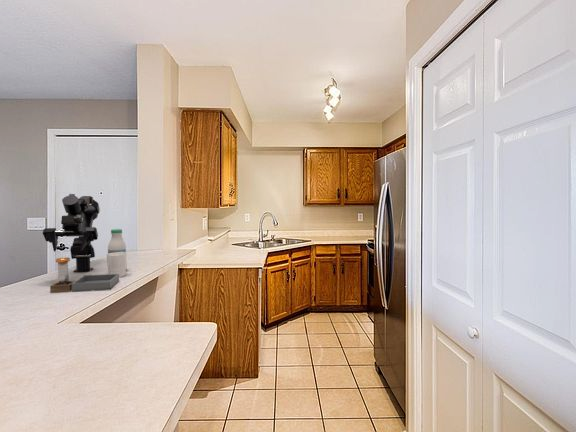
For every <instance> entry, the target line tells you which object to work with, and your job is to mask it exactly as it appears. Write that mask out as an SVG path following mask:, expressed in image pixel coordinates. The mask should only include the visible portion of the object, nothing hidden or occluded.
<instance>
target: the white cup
mask: <svg viewBox="0 0 576 432" xmlns="http://www.w3.org/2000/svg"><path fill="white" fill-rule="evenodd" d="M106 265H107V272H108V274H119V278H122V277H125V276H126V274H127V273H126V271H127V270H126V265H127V252H126V253H124V252H116V253H109V254H108V253H107V254H106Z"/></svg>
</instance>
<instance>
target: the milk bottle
mask: <svg viewBox="0 0 576 432" xmlns="http://www.w3.org/2000/svg"><path fill="white" fill-rule="evenodd" d="M110 235H111V238H110V241H109V242H108V245H107V254H109V253H116V252H124V253H126V254H127V247H126V246H127V245H126V242H125V240H124V238H123V236H122V235H123V229H122V228H115V229H114V228H113V229H111V230H110ZM127 269H128V268H127V264H126V271H127Z"/></svg>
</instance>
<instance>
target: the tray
mask: <svg viewBox="0 0 576 432" xmlns="http://www.w3.org/2000/svg"><path fill="white" fill-rule="evenodd" d="M74 281H75V282H74V283H72V291H71V292H72V293H74V292H89V291H90V292H91V290H95V291H106V290H105V289H110V290H112V288H114V286H116V285H117V284H118V282H120V277H119V274H90V275H89V274H87V275H86V274H85V275H82V276H80V278H78V279H77V280H74Z"/></svg>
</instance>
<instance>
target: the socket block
mask: <svg viewBox="0 0 576 432" xmlns="http://www.w3.org/2000/svg"><path fill="white" fill-rule="evenodd" d="M75 281H76V280H69V284H68V285H59V283H58V281H56V282H54V283H53V284H51V285H50V286H49V288H50V289H49V293H50V294H52V293H69V292H72V283H74V282H75Z"/></svg>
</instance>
